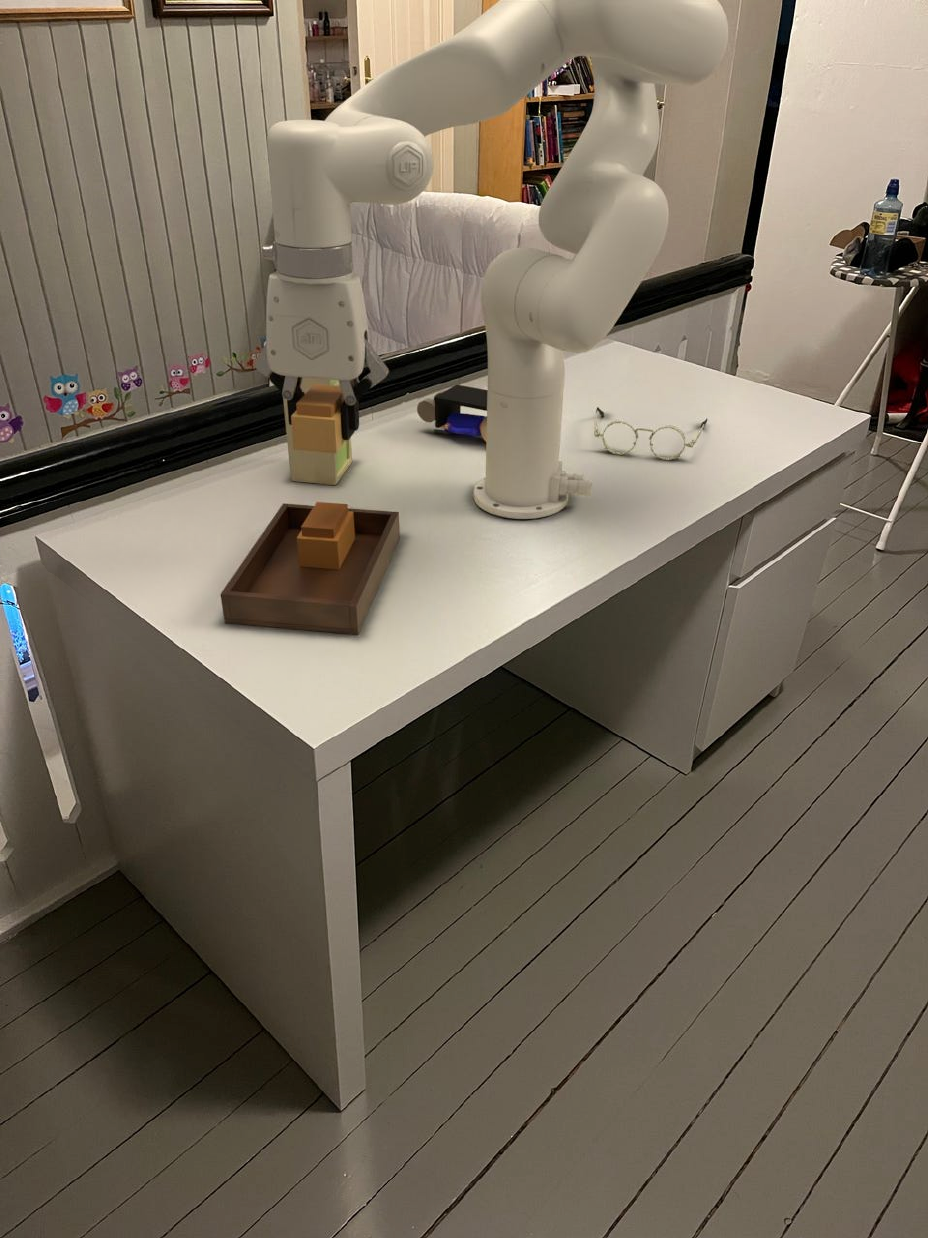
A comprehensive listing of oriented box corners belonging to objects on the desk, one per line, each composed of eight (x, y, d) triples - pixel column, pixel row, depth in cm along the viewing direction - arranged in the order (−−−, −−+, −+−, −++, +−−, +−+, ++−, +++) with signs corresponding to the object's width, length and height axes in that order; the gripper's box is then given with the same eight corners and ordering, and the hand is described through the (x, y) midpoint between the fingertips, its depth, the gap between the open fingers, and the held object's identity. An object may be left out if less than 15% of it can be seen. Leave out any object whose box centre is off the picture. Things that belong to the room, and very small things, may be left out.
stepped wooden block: (355, 428, 107) (353, 385, 104) (336, 453, 101) (334, 408, 98) (314, 424, 108) (311, 381, 105) (293, 449, 101) (289, 404, 99)
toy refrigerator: (341, 486, 129) (330, 332, 117) (290, 481, 130) (274, 328, 118) (358, 463, 135) (349, 315, 124) (309, 458, 136) (296, 311, 125)
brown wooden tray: (399, 537, 117) (399, 511, 115) (358, 634, 99) (356, 605, 97) (285, 528, 118) (283, 503, 116) (224, 622, 100) (220, 594, 98)
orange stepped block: (355, 539, 115) (352, 502, 112) (339, 569, 109) (336, 531, 106) (317, 536, 116) (313, 499, 113) (299, 566, 109) (295, 528, 107)
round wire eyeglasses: (583, 450, 140) (585, 418, 137) (599, 414, 152) (601, 384, 149) (700, 464, 136) (705, 431, 133) (706, 425, 148) (711, 395, 145)
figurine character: (417, 442, 145) (500, 454, 138) (411, 394, 142) (496, 403, 134) (442, 428, 150) (523, 439, 142) (437, 381, 146) (520, 389, 138)
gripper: (219, 263, 92) (238, 439, 102) (388, 274, 90) (392, 453, 100) (246, 247, 98) (262, 415, 108) (405, 257, 96) (407, 427, 106)
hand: (324, 431), depth 104 cm, fingers closed on stepped wooden block, 4 cm apart
